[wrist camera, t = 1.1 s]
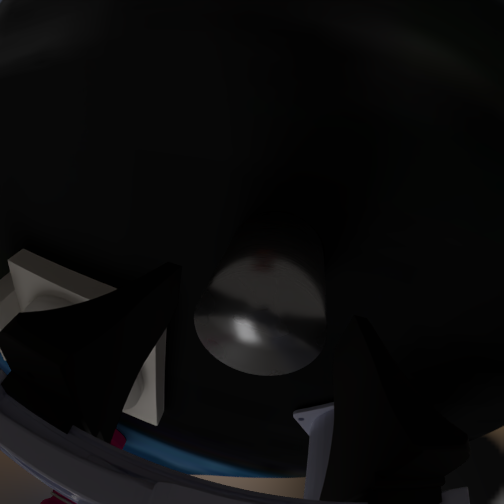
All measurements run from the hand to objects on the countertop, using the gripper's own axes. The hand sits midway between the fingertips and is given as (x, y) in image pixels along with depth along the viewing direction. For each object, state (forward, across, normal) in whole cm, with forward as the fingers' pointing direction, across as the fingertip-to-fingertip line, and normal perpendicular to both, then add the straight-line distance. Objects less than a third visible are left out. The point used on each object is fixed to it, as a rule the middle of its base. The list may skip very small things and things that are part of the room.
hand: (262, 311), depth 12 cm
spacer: (+5, 0, 0) cm, 5 cm away
